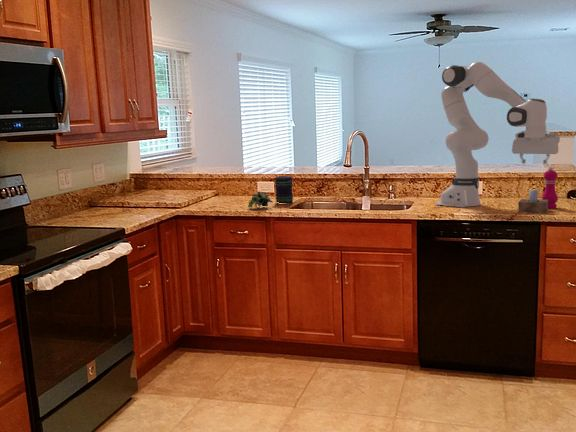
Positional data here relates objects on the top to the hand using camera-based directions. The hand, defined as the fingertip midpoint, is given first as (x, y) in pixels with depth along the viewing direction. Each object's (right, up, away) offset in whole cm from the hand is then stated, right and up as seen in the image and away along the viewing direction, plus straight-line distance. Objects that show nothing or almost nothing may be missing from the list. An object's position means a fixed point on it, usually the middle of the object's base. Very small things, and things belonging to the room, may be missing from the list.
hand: (534, 163), depth 283 cm
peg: (+1, -23, +4) cm, 23 cm away
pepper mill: (+12, -21, +11) cm, 27 cm away
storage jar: (-118, -18, +62) cm, 134 cm away
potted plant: (-131, -21, +45) cm, 141 cm away
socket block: (+1, -23, +4) cm, 23 cm away
